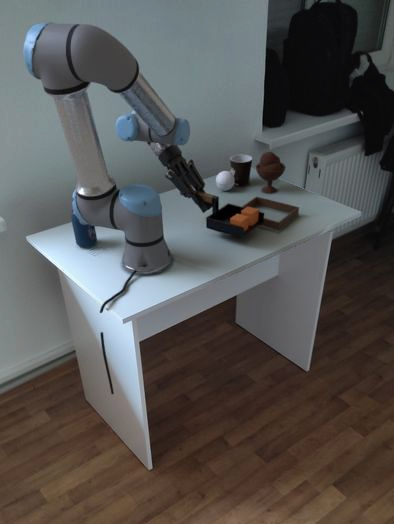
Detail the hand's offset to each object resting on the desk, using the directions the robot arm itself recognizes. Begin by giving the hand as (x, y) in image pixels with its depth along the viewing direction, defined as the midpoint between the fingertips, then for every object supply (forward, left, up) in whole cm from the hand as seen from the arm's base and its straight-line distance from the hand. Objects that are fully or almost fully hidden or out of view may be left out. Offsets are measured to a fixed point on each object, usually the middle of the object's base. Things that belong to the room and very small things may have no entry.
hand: (208, 209), depth 169 cm
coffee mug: (+37, +19, -7) cm, 42 cm away
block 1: (-1, -14, -2) cm, 15 cm away
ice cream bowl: (+38, +5, -7) cm, 39 cm away
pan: (+1, -3, -3) cm, 5 cm away
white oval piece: (+27, +17, -7) cm, 33 cm away
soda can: (-35, +23, -7) cm, 42 cm away
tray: (+19, -10, -7) cm, 23 cm away
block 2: (+6, -13, -2) cm, 15 cm away
